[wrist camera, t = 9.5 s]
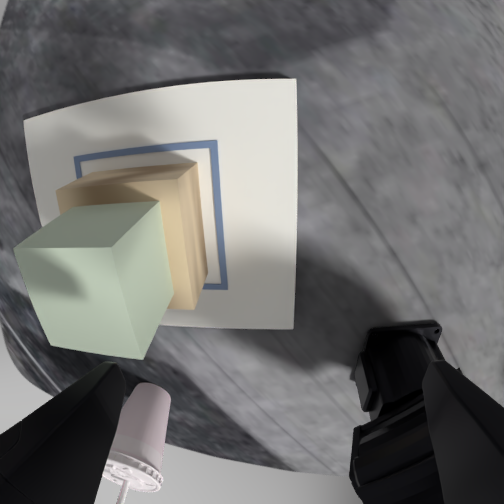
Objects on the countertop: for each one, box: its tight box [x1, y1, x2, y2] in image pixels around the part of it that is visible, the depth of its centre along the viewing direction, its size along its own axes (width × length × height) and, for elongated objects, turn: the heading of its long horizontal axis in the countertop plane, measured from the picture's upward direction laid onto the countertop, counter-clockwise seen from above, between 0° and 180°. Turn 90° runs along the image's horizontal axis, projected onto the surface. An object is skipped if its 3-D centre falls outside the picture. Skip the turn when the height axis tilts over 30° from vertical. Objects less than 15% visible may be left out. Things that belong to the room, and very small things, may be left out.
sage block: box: [13, 201, 174, 360], centre depth 13 cm, size 5×5×5 cm
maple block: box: [55, 163, 208, 310], centre depth 17 cm, size 7×7×4 cm
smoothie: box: [102, 383, 171, 504], centre depth 22 cm, size 6×6×14 cm
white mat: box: [23, 79, 297, 329], centre depth 20 cm, size 18×16×1 cm
